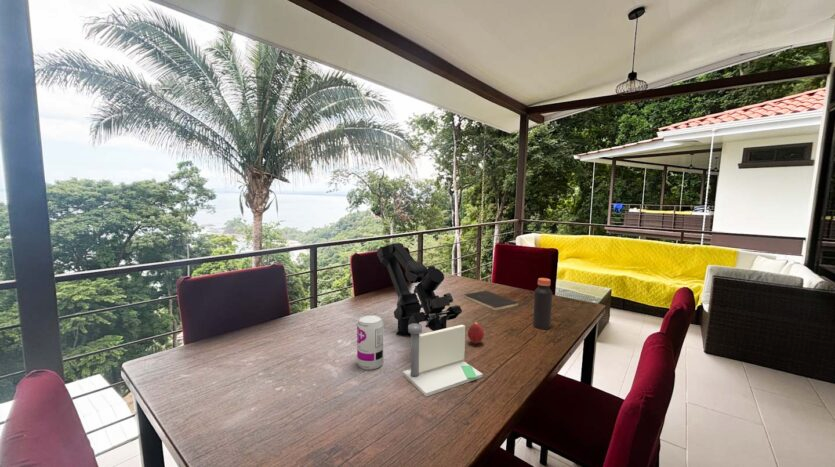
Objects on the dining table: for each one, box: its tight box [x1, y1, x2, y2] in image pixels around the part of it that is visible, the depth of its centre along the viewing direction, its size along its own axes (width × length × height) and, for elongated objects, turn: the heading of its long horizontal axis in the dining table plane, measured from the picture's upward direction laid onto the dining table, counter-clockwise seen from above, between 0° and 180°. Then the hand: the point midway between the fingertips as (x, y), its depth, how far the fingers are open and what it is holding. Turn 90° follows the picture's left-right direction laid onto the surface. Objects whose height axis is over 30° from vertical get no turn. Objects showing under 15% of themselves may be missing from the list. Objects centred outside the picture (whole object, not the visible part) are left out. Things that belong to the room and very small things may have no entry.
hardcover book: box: [464, 290, 520, 311], centre depth 174 cm, size 16×23×2 cm
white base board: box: [402, 359, 484, 397], centre depth 103 cm, size 20×14×1 cm
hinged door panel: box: [408, 323, 466, 377], centre depth 104 cm, size 20×4×15 cm, turn 121°
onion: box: [467, 321, 485, 345], centre depth 125 cm, size 6×6×8 cm
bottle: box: [532, 277, 553, 330], centre depth 141 cm, size 7×7×20 cm
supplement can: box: [356, 314, 384, 371], centre depth 108 cm, size 8×8×15 cm
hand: (445, 340), depth 111 cm, fingers closed
